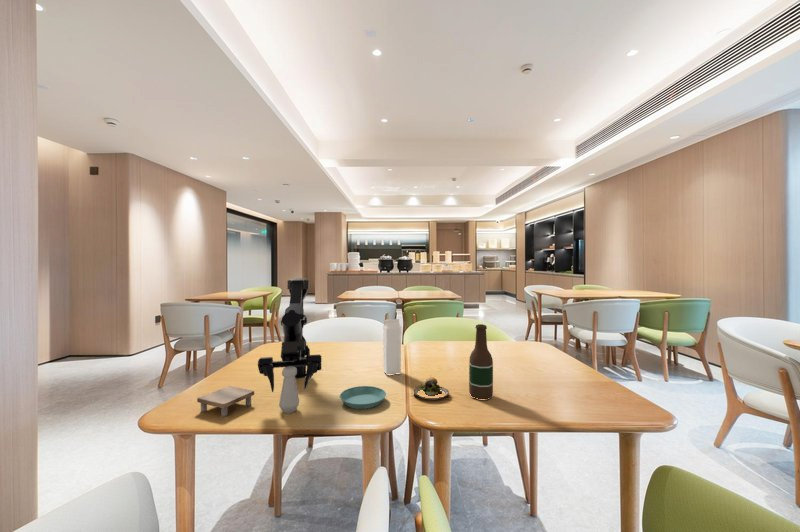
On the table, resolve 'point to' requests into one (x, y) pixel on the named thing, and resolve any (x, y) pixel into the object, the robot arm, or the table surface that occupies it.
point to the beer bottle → (481, 367)
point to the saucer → (362, 397)
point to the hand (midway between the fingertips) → (288, 390)
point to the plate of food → (431, 388)
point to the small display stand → (225, 398)
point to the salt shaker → (289, 391)
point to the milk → (392, 346)
